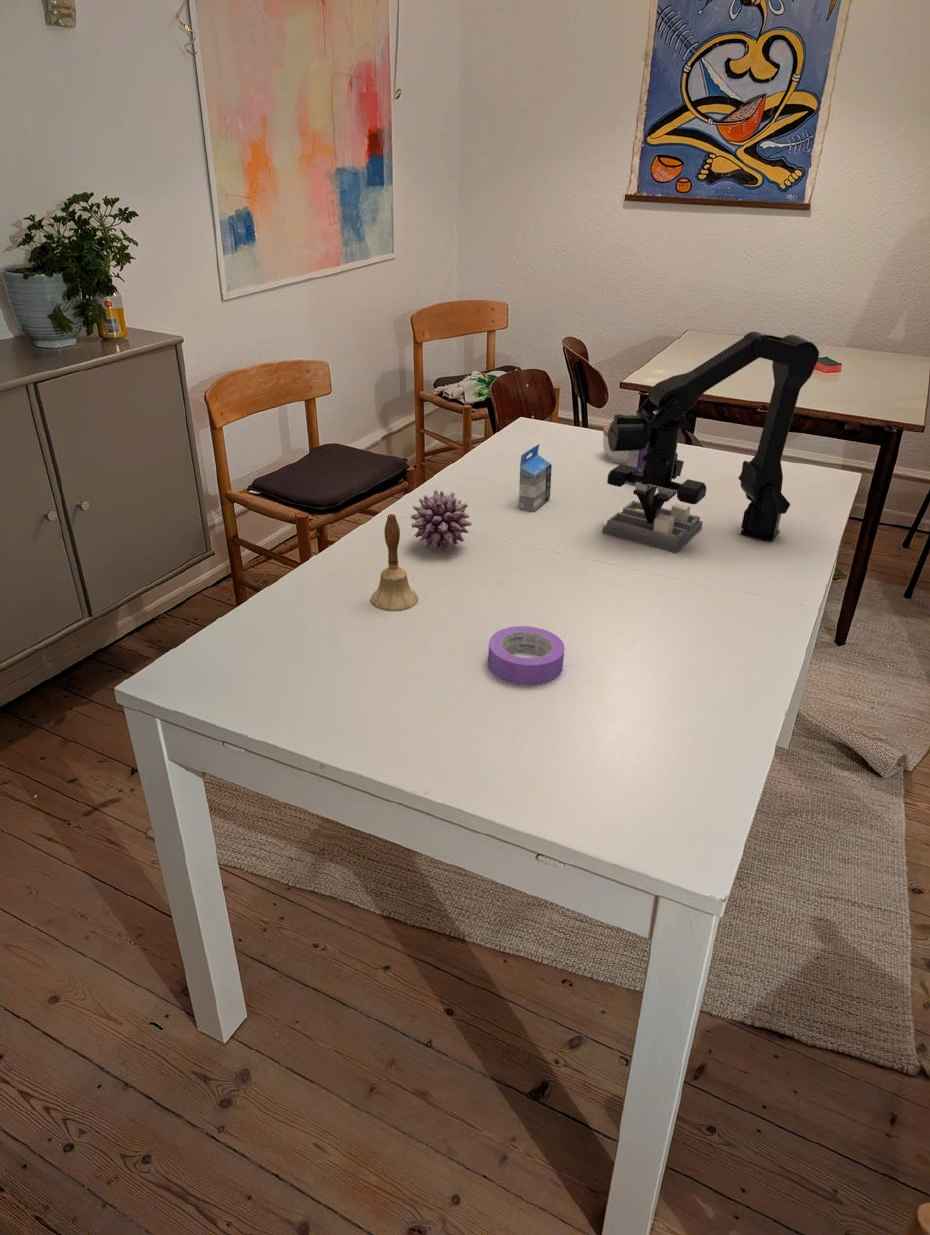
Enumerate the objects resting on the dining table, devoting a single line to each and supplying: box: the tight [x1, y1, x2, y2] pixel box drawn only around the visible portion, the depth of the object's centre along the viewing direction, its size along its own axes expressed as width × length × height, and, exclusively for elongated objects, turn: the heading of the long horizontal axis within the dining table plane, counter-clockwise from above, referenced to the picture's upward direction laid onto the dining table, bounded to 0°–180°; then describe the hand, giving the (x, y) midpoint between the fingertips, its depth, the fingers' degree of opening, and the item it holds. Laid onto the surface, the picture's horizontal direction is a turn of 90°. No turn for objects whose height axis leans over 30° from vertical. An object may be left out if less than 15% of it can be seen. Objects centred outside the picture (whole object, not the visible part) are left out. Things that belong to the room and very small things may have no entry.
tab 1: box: [653, 514, 675, 535], centre depth 176 cm, size 3×3×4 cm
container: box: [625, 445, 647, 487], centre depth 202 cm, size 5×5×15 cm
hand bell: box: [370, 513, 419, 612], centre depth 149 cm, size 8×8×16 cm
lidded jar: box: [602, 423, 629, 465], centre depth 217 cm, size 11×11×9 cm
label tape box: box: [518, 443, 553, 512], centre depth 190 cm, size 9×4×12 cm, turn 151°
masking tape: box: [487, 625, 566, 686], centre depth 135 cm, size 12×12×4 cm
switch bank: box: [601, 500, 703, 554], centre depth 181 cm, size 16×15×3 cm
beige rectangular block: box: [670, 501, 692, 522], centre depth 181 cm, size 3×3×4 cm
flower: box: [410, 489, 473, 552], centre depth 169 cm, size 12×12×12 cm
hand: (650, 523), depth 177 cm, fingers closed
